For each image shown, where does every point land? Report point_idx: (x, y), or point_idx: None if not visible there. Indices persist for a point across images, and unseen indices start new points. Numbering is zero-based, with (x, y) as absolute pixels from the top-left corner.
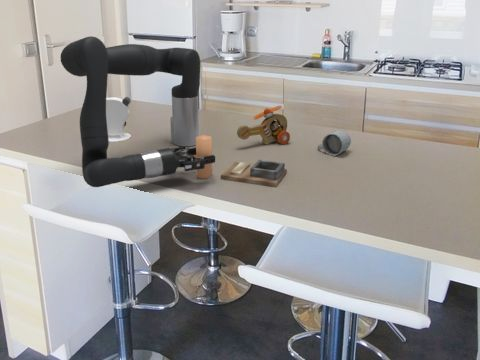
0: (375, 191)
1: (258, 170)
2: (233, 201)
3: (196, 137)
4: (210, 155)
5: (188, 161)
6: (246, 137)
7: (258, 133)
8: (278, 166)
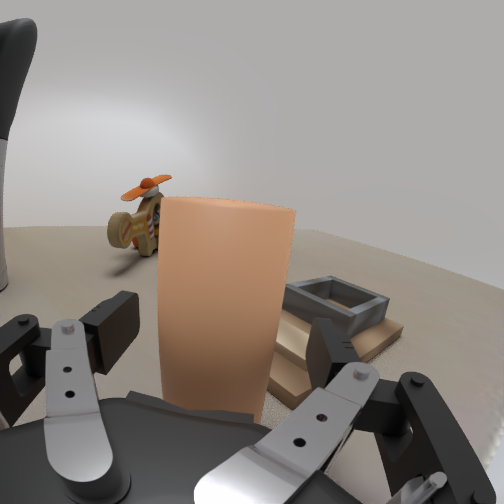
0: (416, 281)
1: (364, 312)
2: (495, 424)
3: (183, 202)
4: (322, 327)
5: (456, 481)
6: (128, 242)
7: (142, 231)
8: (350, 286)
